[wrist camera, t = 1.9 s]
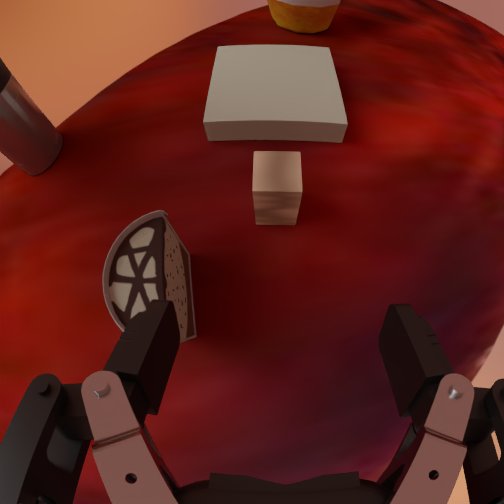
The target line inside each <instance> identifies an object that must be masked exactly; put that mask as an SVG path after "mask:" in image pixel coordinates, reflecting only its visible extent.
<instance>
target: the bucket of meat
mask: <svg viewBox="0 0 504 504" xmlns="http://www.w3.org/2000/svg"><path fill="white" fill-rule="evenodd" d="M267 1H268V5H269V8H270V11H271V15H272V17H273V19H274V20H275V22H276V23H277V24H278V25H279V26H280V27H281V28H283V29H286V30H289V31H292V32H294V33H304V34H314V33H318V32H322V31H324V30H326V29H328V27H329V25H330V24H331V22H332V19H333V17H334V15H335V13H336V10H337V8H338V6H339V4H340V1H341V0H267Z"/></svg>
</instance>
